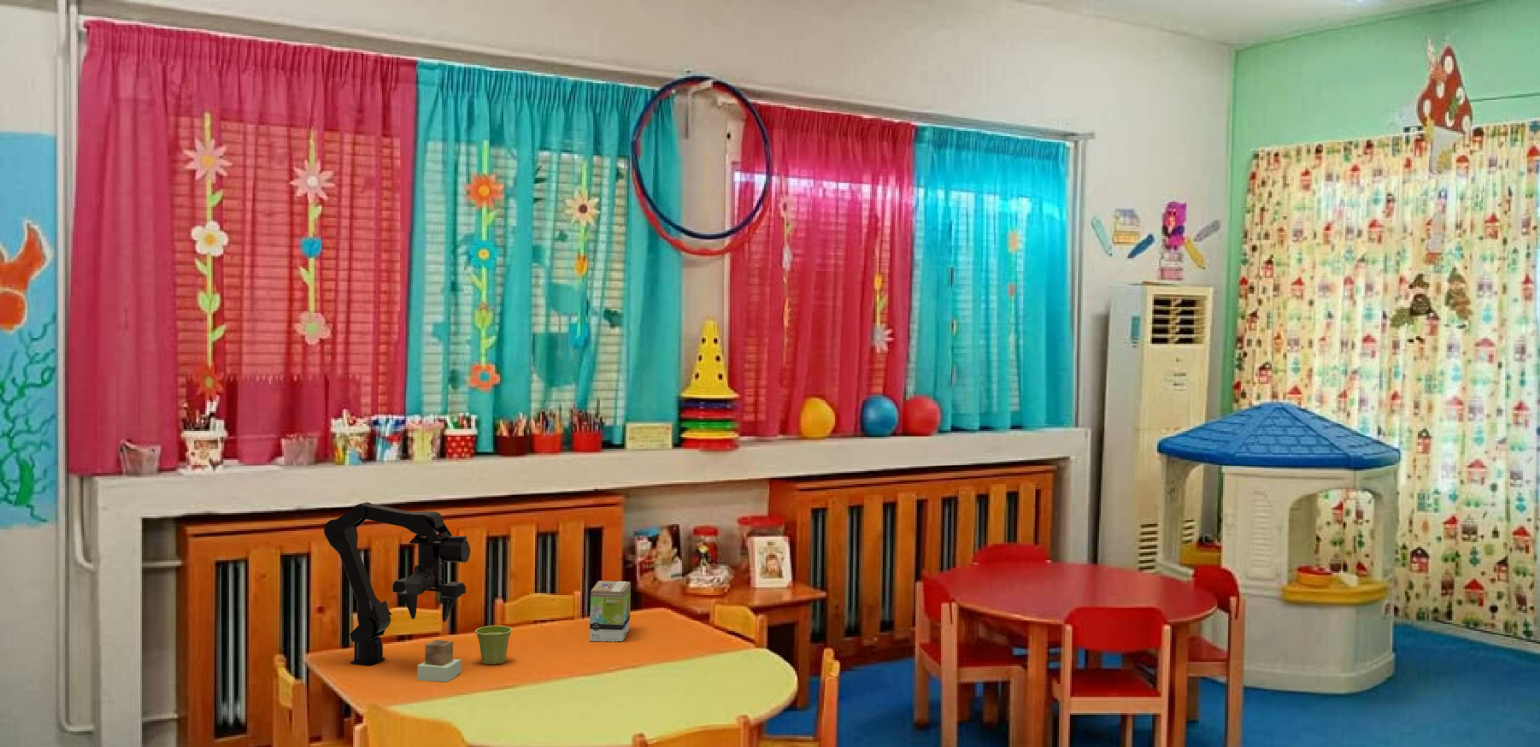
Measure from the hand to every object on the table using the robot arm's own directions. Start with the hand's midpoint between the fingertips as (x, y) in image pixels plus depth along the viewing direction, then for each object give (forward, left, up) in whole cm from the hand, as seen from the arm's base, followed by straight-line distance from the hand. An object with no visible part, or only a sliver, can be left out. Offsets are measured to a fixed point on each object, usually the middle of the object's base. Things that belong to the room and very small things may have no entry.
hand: (428, 620), depth 334 cm
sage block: (+8, -8, -12) cm, 17 cm away
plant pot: (+14, +9, -12) cm, 21 cm away
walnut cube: (+8, -8, -8) cm, 14 cm away
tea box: (+31, +46, -12) cm, 57 cm away
